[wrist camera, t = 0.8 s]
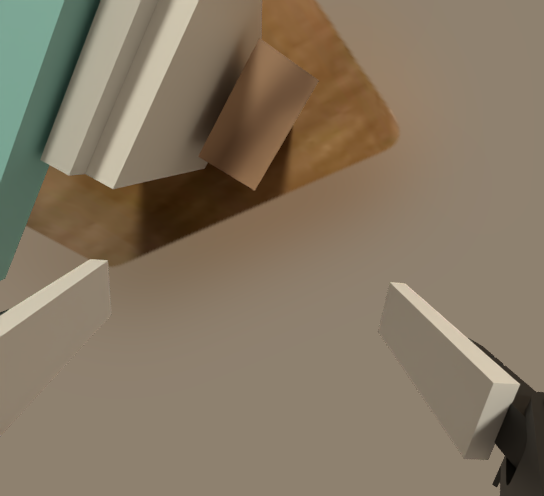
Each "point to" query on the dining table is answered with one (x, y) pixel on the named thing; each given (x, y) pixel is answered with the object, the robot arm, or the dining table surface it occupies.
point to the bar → (32, 99)
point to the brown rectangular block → (258, 115)
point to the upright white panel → (151, 87)
